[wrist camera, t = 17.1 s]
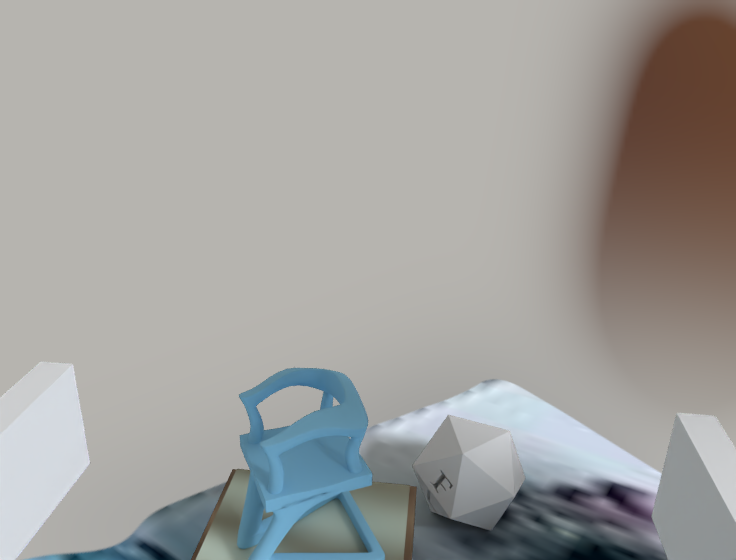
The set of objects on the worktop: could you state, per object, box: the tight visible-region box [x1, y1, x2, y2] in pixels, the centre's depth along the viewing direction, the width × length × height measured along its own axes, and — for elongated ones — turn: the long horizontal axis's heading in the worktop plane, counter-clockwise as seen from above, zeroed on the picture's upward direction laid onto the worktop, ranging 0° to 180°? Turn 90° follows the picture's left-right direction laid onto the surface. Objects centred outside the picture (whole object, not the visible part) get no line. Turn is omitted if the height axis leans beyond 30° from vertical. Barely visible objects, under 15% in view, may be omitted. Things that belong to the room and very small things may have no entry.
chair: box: [237, 368, 385, 560], centre depth 41 cm, size 8×8×12 cm
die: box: [412, 415, 525, 531], centre depth 54 cm, size 8×9×10 cm
